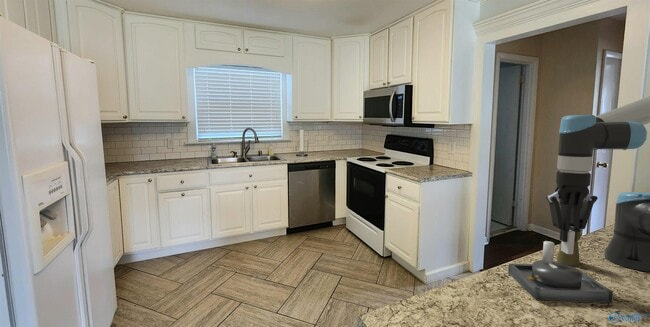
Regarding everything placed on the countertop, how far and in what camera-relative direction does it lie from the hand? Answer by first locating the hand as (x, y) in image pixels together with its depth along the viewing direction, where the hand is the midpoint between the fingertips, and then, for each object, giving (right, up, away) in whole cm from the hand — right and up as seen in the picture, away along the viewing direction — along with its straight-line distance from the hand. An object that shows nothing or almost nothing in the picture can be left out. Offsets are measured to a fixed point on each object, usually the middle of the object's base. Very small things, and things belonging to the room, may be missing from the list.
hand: (566, 252), depth 89 cm
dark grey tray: (-5, -9, -2) cm, 11 cm away
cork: (+11, -7, +13) cm, 18 cm away
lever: (-5, -7, -3) cm, 9 cm away
